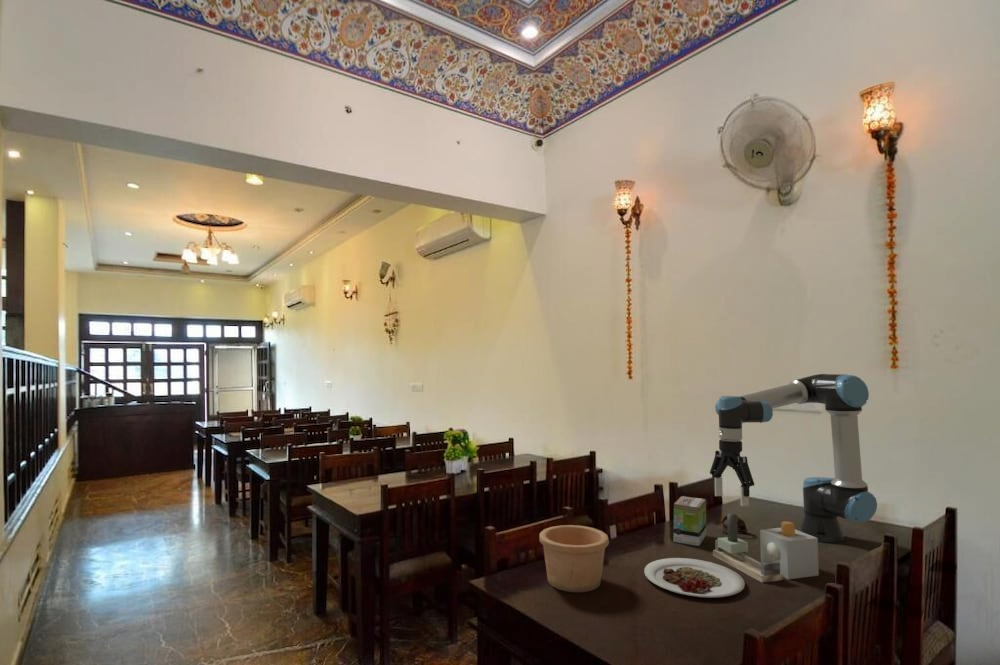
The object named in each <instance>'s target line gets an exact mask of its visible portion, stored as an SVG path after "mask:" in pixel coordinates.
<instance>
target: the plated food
mask: <svg viewBox="0 0 1000 665" xmlns="http://www.w3.org/2000/svg"><path fill="white" fill-rule="evenodd" d="M643 571H644V572H643V573H644V575H645V578H647V580H649V581H650V582H651V583H653V584H654V585H656V586H658V587H660V588H662V589H665V590H667V591H670V592H673V593H676V594H680V595H683V596H684V595H686V596H691V597H695V598H696V597H698V598H724V597H730V596H733V595H734V596H735V595H737V594H738V593H740V592H742V591H743V590H744V589H745V585H746V583H745V580H744V579H743V577H742V576H741V575H740V574H739V573H737V572H736V571H734V570H733V569H730V568H729V567H726V566H724V565H722V564H717V563H714V562H711V561H707V560H701V559H698V558H696V559H695V558H687V557H686V558H682V557H668V558H662V559H657V560H654V561H651V562H649V563H648V564H646V566H644V570H643Z"/></svg>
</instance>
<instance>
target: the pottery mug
mask: <svg viewBox="0 0 1000 665" xmlns="http://www.w3.org/2000/svg"><path fill="white" fill-rule="evenodd" d="M725 521H727V514H726V515H725V516H723V517H722V518H721V520H720V522H721V531H722V533H725V532H728V531H727V524H726V523H725ZM737 531H743V532H745V533H746V535H748V532H749V531H748V528H747V526H746V522H745V521H744V519H742V517H739V516H738V515H737Z"/></svg>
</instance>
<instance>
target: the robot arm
mask: <svg viewBox="0 0 1000 665" xmlns="http://www.w3.org/2000/svg"><path fill="white" fill-rule="evenodd" d="M869 396H870V394H869V388H868V386H867V384H866V382H865V381H864V380H862V379H861V378H860V377H858V376H857V375H852V374H847V373H845V374H843V373H841V374H840V373H839V374H831V373H830V374H829V373H820V374H813V375H809V376H805V377H802V378H798V379H794V380H791V381H790V382H789V383H788V384H786V385H785V384H783V385H780V386H778V387H777V386H776V387H772V388H769V389H765V390H760V391H756V392H753V393H748V394H743V395H740V396H739V395H738V396H736V395H721V396H720V397H719V399H718V400H717V401H716V402H715V404H714V405H715V406H714V410H715V412H716V414H717V416H718V428H719V429H718V431H719V433H718V434H719V435H718V438H719V440H718V449H719V450H715V451H714V454H715V455H714V459H713V461H712V465H711V467H710V470H709V475H712V477H713V484H714V497H723V495H724V494H723V473H724V472H725V470H726V469H727V468H729V467H730V468H731V469H732V470H734V472H735V474H736V476H737V478H738V480H739V482H740V491H739V492H740V494H739V495H740V506H741V507H749V506H750V495H751V494H750V487H755V482H754V479H753V476H752V473H751V469H750V467H749V462H748V457H747V456H746V455H745V456H741V452H742V451H743V442H742V439H743V424H744V423H760V424H761V423H767V422H768V423H769V422H770V421H771V420H772V418H773V415H774V413H773V411H774V410H773V409H776V408H781V407H786V406H788V405H792V404H797V405H804V404H808V403H809V404H811V403H812V404H815V403H816V404H823V405H824V408H825V412H827V413H828V414H829V415H830V422H831V423H830V425H831V426H830V427H831V439H832V453H833V466H834V467H833V468H834V469H833V470H834V478H833V477H825V476H824V477H823V476H821V477H818V476H817V477H816V476H815V477H806V478H804V480H803V485H802V497H803V517H802V520H801V524H800V526H799V531H801V532H803V533H806V534H808V535H811V536H814V537H816V538H818V542H822V543H828V544H829V543H831V544H832V543H833V544H834V543H836V542H837V543H842V542H844V541H845V535H844V532H843V531H842V526H841V523H840V521H839V518H842V519H846V520H848V521H850V522H855V523H859V524H861V523H863V524H864V523H867V522H869V521H870V520H871V519H872V518H873V517H874V516H875V515H876V513H877V510H878V500H877V498H876V497H875V495H874V494H873V493H872V492H870V491H869V486H868V483H867V482H865V481H864V479H863V471H862V460H861V458H862V457H861V446H860V434H859V432H860V431H859V419H858V415H859V414H860V413H862V411H863V408H862V407H863V406H865V405H866V404H867V402H868V401H869ZM843 540H844V541H843ZM841 541H842V542H841Z"/></svg>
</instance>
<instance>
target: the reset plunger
mask: <svg viewBox="0 0 1000 665" xmlns="http://www.w3.org/2000/svg"><path fill="white" fill-rule="evenodd" d="M780 524H781V525H780V528H781V534H782V535H785V536H787V537H791V536H795V529H796V528H795V527H796V525H795V524H796V523H794V522H792V521H781V522H780Z"/></svg>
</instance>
